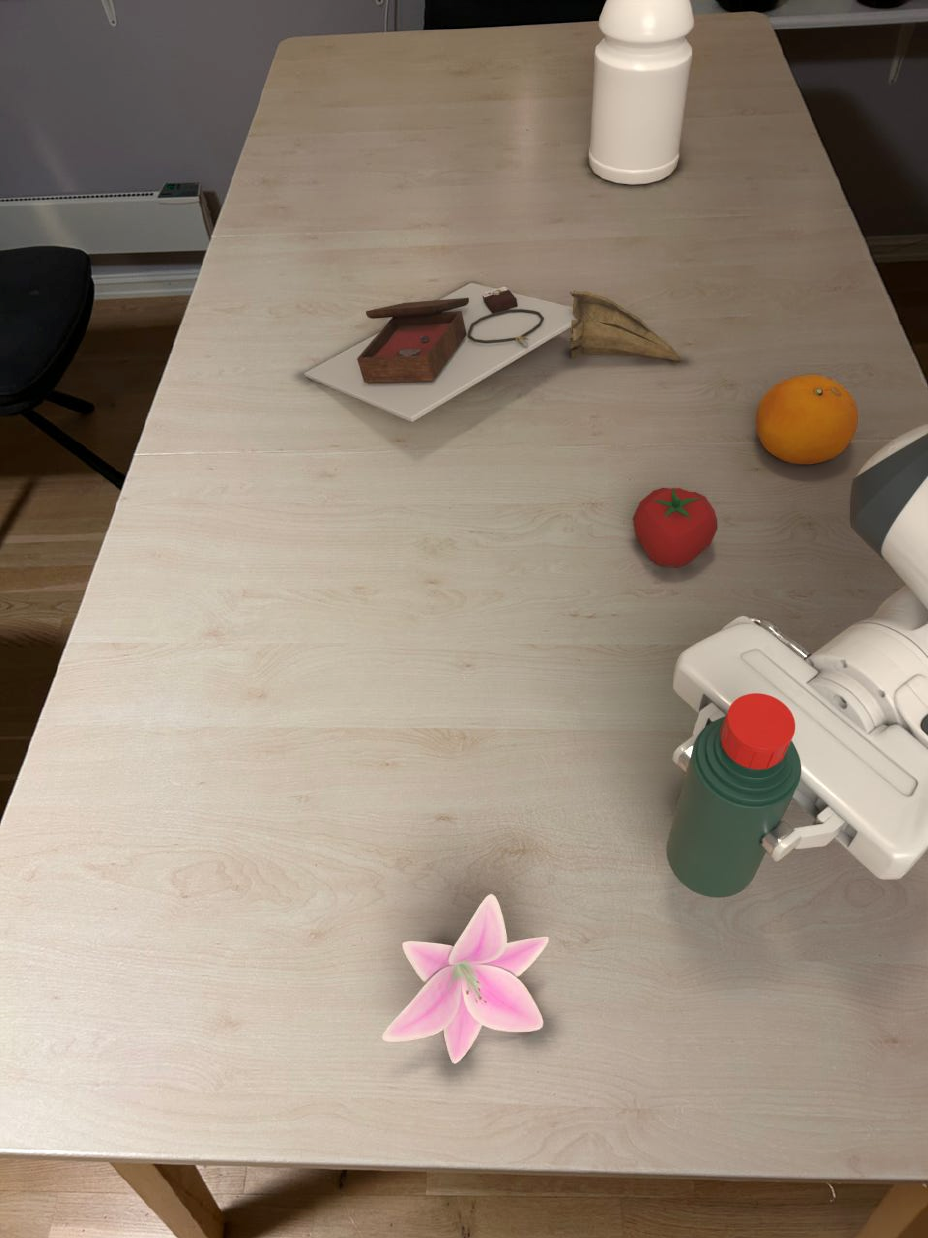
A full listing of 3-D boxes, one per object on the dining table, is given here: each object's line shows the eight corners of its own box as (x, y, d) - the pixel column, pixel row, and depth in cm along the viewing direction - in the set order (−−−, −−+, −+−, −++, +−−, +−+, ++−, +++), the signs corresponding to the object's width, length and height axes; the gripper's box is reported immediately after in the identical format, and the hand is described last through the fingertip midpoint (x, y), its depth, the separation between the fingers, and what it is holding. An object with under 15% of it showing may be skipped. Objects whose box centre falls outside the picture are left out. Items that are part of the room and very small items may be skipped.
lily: (365, 1054, 68) (390, 1084, 59) (377, 886, 71) (403, 889, 62) (522, 1055, 70) (569, 1083, 61) (527, 893, 74) (572, 897, 65)
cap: (795, 731, 56) (805, 710, 55) (772, 780, 55) (781, 760, 53) (735, 705, 58) (742, 683, 56) (710, 751, 56) (716, 730, 54)
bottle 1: (578, 180, 144) (588, -32, 122) (598, 139, 152) (612, -66, 130) (669, 190, 141) (696, -25, 119) (685, 148, 149) (713, -61, 127)
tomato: (666, 589, 92) (675, 538, 87) (614, 541, 96) (620, 490, 91) (726, 553, 95) (739, 502, 89) (673, 508, 99) (682, 457, 93)
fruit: (859, 477, 101) (881, 418, 94) (760, 481, 101) (776, 422, 95) (834, 414, 107) (853, 356, 101) (742, 418, 107) (755, 360, 101)
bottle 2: (771, 840, 69) (834, 707, 55) (736, 914, 66) (794, 793, 52) (688, 799, 72) (728, 661, 57) (651, 869, 68) (684, 741, 54)
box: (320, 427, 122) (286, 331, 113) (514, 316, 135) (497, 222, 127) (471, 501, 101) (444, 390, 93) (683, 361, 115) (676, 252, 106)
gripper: (759, 581, 69) (620, 676, 64) (1007, 774, 58) (861, 905, 54) (744, 632, 74) (613, 725, 69) (969, 819, 63) (833, 943, 59)
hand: (723, 805), depth 62 cm, fingers closed on bottle 2, 6 cm apart
